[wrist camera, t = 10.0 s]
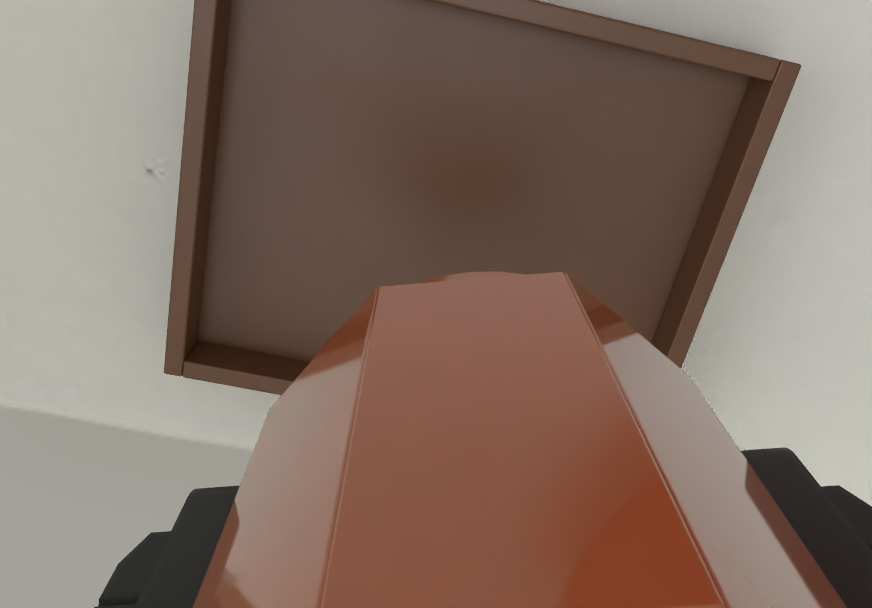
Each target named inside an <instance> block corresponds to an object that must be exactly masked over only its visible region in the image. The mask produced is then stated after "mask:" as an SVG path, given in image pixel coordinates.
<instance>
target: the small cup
mask: <svg viewBox="0 0 872 608" xmlns="http://www.w3.org/2000/svg"><path fill="white" fill-rule="evenodd" d="M193 608H847V607H846V605H845V604H844V602H843V601H842V599H841V598H840V596H839V595H838V593H837V592H836V590H835V589H834V587H833V586H832V584H831V583H830V582H829V580H828V579H827V577H826V576H825V574H824V573H823V571H822V570H821V568H820V567H819V565H818V564H817V562H816V561H815V559H814V558H813V557H812V555H811V554H810V552H809V551H808V549H807V548H806V546H805V545H804V543H803V542H802V540H801V539H800V537H799V536H798V535H797V533H796V532H795V530H794V529H793V527H792V526H791V524H790V523H789V521H788V520H787V518H786V517H785V515H784V514H783V512H782V511H781V510H780V508H779V507H778V505H777V504H776V502H775V501H774V499H773V498H772V496H771V495H770V493H769V492H768V490H767V489H766V487H765V486H764V485H763V483H762V482H761V480H760V479H759V477H758V476H757V474H756V473H755V471H754V470H753V468H752V467H751V465H750V464H749V463H748V461H747V460H746V458H745V457H744V455H743V454H742V452H741V451H740V449H739V448H738V446H737V445H736V443H735V442H734V440H733V439H732V438H731V436H730V435H729V433H728V432H727V430H726V429H725V427H724V426H723V424H722V423H721V421H720V420H719V418H718V417H717V415H716V414H715V413H714V411H713V410H712V408H711V407H710V405H709V404H708V402H707V401H706V399H705V398H704V396H703V395H702V393H701V392H700V391H699V389H698V388H697V386H696V385H695V383H694V382H693V380H692V379H691V377H690V376H689V375H687V374H686V373H685V372H684V371H683V370H681V369H680V368H679V367H678V366H677V365H676V364H674V363H673V362H672V361H671V360H670V359H668V358H667V357H666V356H665V355H664V354H662V353H661V352H660V351H659V350H658V349H657V348H655V347H654V346H653V345H652V344H651V343H649V342H648V341H647V340H646V339H645V338H643V337H642V336H641V335H640V334H639V333H638V332H636V331H635V330H634V329H633V328H632V327H630V326H629V325H628V324H627V323H626V322H625V321H624V320H623V319H622V318H621V317H620V316H618V315H617V314H616V313H614V312H613V311H612V310H610V309H609V308H608V307H607V306H605V305H604V304H603V303H602V302H601V301H600V300H598V299H597V298H596V297H595V296H594V295H592V294H591V293H590V292H589V291H588V290H586V289H585V288H584V287H583V286H582V285H581V284H579V283H578V282H577V281H576V280H575V279H573V278H572V277H571V276H570V275H569V274H567V273H564V272H554V273H541V274H529V275H526V274H517V273H507V272H498V271H497V272H466V273H459V274H452V275H445V276H440V277H436V278H432V279H428V280H425V281H421V282H417V283H414V284H403V285H391V286H380V287H378V288H376V289H374V290H373V292H372V293H371V294H370V295H369V296H368V297H367V298H366V300H365V301H364V302H363V303H362V304H361V305H360V306H359V308H358V309H357V310H356V311H355V312H354V313H353V314H352V315H351V317H350V318H349V319H348V320H347V321H346V322H345V323H344V324H343V325H342V326H341V327H340V328H339V329H338V330H337V331H336V332H335V333H334V334H333V335H332V336H331V337H330V338H329V339H328V340H327V341H326V343H325V344H324V345H323V347H322V348H321V349H320V351H319V352H318V353H317V354H316V356H315V357H314V358H313V360H312V361H311V362H310V363H309V365H308V366H307V367H306V368H305V369H304V370H303V371H302V373H301V374H300V375H299V376H298V377H297V378H296V379H295V381H294V382H293V383H292V384H291V385H290V386H289V387H288V389H287V390H286V391H285V392H284V393H283V394H282V395H281V397H280V398H279V399H278V400H277V401H276V402H275V403H274V405H273V406H272V407H271V408H270V410H269V412H268V415H267V417H266V420H265V423H264V425H263V428H262V430H261V433H260V435H259V438H258V441H257V443H256V446H255V448H254V451H253V454H252V456H251V459H250V461H249V464H248V466H247V469H246V472H245V474H244V477H243V479H242V482H241V484H240V487H239V490H238V492H237V495H236V497H235V500H234V502H233V505H232V508H231V510H230V513H229V515H228V518H227V520H226V523H225V526H224V528H223V531H222V533H221V536H220V538H219V541H218V544H217V546H216V549H215V551H214V554H213V556H212V559H211V562H210V564H209V567H208V569H207V572H206V575H205V577H204V580H203V582H202V585H201V587H200V590H199V593H198V595H197V598H196V600H195V603H194V605H193Z"/></svg>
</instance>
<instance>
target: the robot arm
mask: <svg viewBox="0 0 872 608" xmlns="http://www.w3.org/2000/svg"><path fill="white" fill-rule="evenodd" d="M741 452H742V454H743V455H744V457H745V458H746V460H747V461H748V463H749V464H750V465H751V467H752V468H753V470H754V471H755V473H756V474H757V476H758V477H759V479H760V480H761V482H762V483H763V485H764V486H765V487H766V489H767V490H768V492H769V493H770V495H771V496H772V498H773V499H774V501H775V502H776V504H777V505H778V507H779V508H780V510H781V511H782V512H783V514H784V515H785V517H786V518H787V520H788V521H789V523H790V524H791V526H792V527H793V529H794V530H795V532H796V533H797V535H798V536H799V537H800V539H801V540H802V542H803V543H804V545H805V546H806V548H807V549H808V551H809V552H810V554H811V555H812V557H813V558H814V559H815V561H816V562H817V564H818V565H819V567H820V568H821V570H822V571H823V573H824V574H825V576H826V577H827V579H828V580H829V582H830V583H831V584H832V586H833V587H834V589H835V590H836V592H837V593H838V595H839V596H840V598H841V599H842V601H843V602H844V604H845V605H846V607H847V608H872V507H871V506H870V505H868V504H867V503H865V502H864V501H862V500H861V499H859V498H858V497H856V496H854V495H853V494H851V493H850V492H848V491H847V490H845V489H844V488H842V487H840V486H839V485H838V486H824V487H821V486H820V485H819V484H818V483H817V481H816V480H815V479H814V477H813V476H812V475H811V474H810V472H809V471H808V470H807V469H806V467H805V466H804V465H803V464H802V462H801V461H800V460H799V459H798V457H797V456H796V455H795V454H794V453H793V452H792V451H791V450H790V449H788V448H771V449H757V450H743V451H741ZM239 487H240V486H228V487H215V488H201V489H194V490H193V491H192V492H191V493H190V494H189V496H188V497H187V500H186V502H185V504H184V506H183V508H182V510H181V512H180V514H179V516H178V518H177V520H176V522H175V524H174V527H173V529H172V531H169V532H155V533H150V534H149V535H148V536H147V537H146V538H145V539H144V540H143V541H142V542H141V543H140V544H139V545H138V546H137V547H136V548H135V549H134V550H132V552H130V553H129V554H128V555H127V556H126V557H125V558H124V559H123V560H122V561H121V562H120V563H119V564H118V565H117V567H116V570H115V571H114V573H113V575H112V577H111V578H110V580H109V582H108V584H107V586H106V587H105V589H104V591H103V593H102V595H101V597H100V599H99V606H98V607H94V608H193V605H194V603H195V600H196V598H197V595H198V593H199V590H200V587H201V585H202V582H203V580H204V577H205V575H206V572H207V569H208V567H209V564H210V562H211V559H212V556H213V554H214V551H215V549H216V546H217V544H218V541H219V538H220V536H221V533H222V531H223V528H224V526H225V523H226V520H227V518H228V515H229V513H230V510H231V508H232V505H233V502H234V500H235V497H236V495H237V492H238V490H239Z"/></svg>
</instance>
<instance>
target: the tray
mask: <svg viewBox="0 0 872 608" xmlns="http://www.w3.org/2000/svg"><path fill="white" fill-rule="evenodd" d="M800 68H801V65H800V64H797V63H793V62H789V61H784V60H779V59H776V58H772V57H768V56H764V55H760V54H755V53H751V52H747V51H743V50H739V49H735V48H731V47H726V46H722V45H718V44H714V43H710V42H706V41H702V40H698V39H693V38H689V37H685V36H681V35H677V34H673V33H669V32H665V31H660V30H656V29H652V28H648V27H644V26H640V25H636V24H631V23H627V22H623V21H619V20H615V19H611V18H607V17H603V16H598V15H594V14H590V13H586V12H582V11H578V10H574V9H569V8H565V7H561V6H557V5H553V4H549V3H545V2H541V1H536V0H195V2H194V14H193V26H192V38H191V50H190V62H189V74H188V86H187V98H186V110H185V123H184V135H183V147H182V159H181V171H180V183H179V195H178V207H177V219H176V231H175V244H174V256H173V268H172V280H171V292H170V304H169V316H168V328H167V340H166V352H165V365H164V373H166V374H171V375H176V376H182V375H183V377H186V378H192V379H197V380H202V381H208V382H213V383H219V384H224V385H230V386H235V387H241V388H246V389H251V390H257V391H262V392H268V393H273V394H279V395H282V394H283V393H284V392H285V391H286V390H287V389H288V387H289V386H290V385H291V384H292V383H293V382H294V381H295V379H296V378H297V377H298V376H299V375H300V374H301V373H302V371H303V370H304V369H305V368H306V367H307V366H308V365H309V363H310V362H311V361H312V360H313V358H314V357H315V356H316V354H317V353H318V352H319V351H320V349H321V348H322V347H323V345H324V344H325V343H326V341H327V340H328V339H329V338H330V337H331V336H332V335H333V334H334V333H335V332H336V331H337V330H338V329H339V328H340V327H341V326H342V325H343V324H344V323H345V322H346V321H347V320H348V319H349V318H350V317H351V315H352V314H353V313H354V312H355V311H356V310H357V309H358V308H359V306H360V305H361V304H362V303H363V302H364V301H365V300H366V298H367V297H368V296H369V295H370V294H371V293H372V292H373V290H374V289H376V288H378V287H380V286H391V285H403V284H414V283H417V282H421V281H425V280H428V279H432V278H436V277H440V276H445V275H452V274H459V273H466V272H497V271H498V272H507V273H517V274H526V275H529V274H541V273H554V272H564V273H567V274H569V275H570V276H571V277H572V278H573V279H575V280H576V281H577V282H578V283H579V284H581V285H582V286H583V287H584V288H585V289H586V290H588V291H589V292H590V293H591V294H592V295H594V296H595V297H596V298H597V299H598V300H600V301H601V302H602V303H603V304H604V305H605V306H607V307H608V308H609V309H610V310H612V311H613V312H614V313H616V314H617V315H618V316H620V317H621V318H622V319H623V320H624V321H625V322H626V323H627V324H628V325H629V326H630V327H632V328H633V329H634V330H635V331H636V332H638V333H639V334H640V335H641V336H642V337H643V338H645V339H646V340H647V341H648V342H649V343H651V344H652V345H653V346H654V347H655V348H657V349H658V350H659V351H660V352H661V353H662V354H664V355H665V356H666V357H667V358H668V359H670V360H671V361H672V362H673V363H674V364H676V365H677V366H678V367H679V368H680V369H681V367H682V364H683V362H684V359H685V357H686V354H687V352H688V349H689V347H690V344H691V342H692V339H693V337H694V334H695V332H696V329H697V327H698V324H699V322H700V319H701V317H702V314H703V312H704V309H705V307H706V304H707V301H708V299H709V296H710V294H711V291H712V289H713V286H714V284H715V281H716V279H717V276H718V274H719V271H720V269H721V266H722V264H723V261H724V259H725V256H726V254H727V251H728V249H729V246H730V244H731V241H732V239H733V236H734V234H735V231H736V229H737V226H738V224H739V221H740V219H741V216H742V214H743V211H744V209H745V206H746V204H747V201H748V199H749V196H750V193H751V191H752V188H753V186H754V183H755V181H756V178H757V176H758V173H759V171H760V168H761V166H762V163H763V161H764V158H765V156H766V153H767V151H768V148H769V146H770V143H771V141H772V138H773V136H774V133H775V131H776V128H777V126H778V123H779V121H780V118H781V116H782V113H783V111H784V108H785V106H786V103H787V101H788V98H789V96H790V93H791V91H792V88H793V86H794V83H795V80H796V78H797V75H798V73H799V70H800Z"/></svg>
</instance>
